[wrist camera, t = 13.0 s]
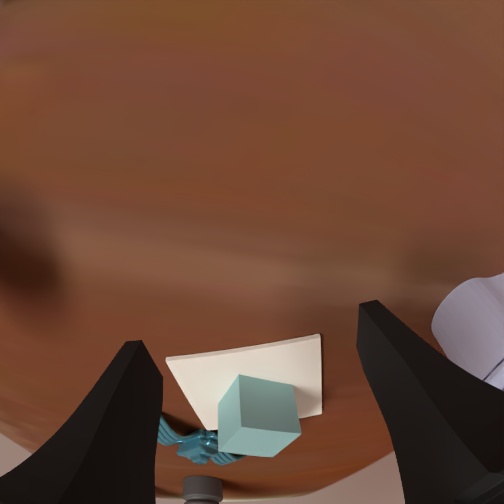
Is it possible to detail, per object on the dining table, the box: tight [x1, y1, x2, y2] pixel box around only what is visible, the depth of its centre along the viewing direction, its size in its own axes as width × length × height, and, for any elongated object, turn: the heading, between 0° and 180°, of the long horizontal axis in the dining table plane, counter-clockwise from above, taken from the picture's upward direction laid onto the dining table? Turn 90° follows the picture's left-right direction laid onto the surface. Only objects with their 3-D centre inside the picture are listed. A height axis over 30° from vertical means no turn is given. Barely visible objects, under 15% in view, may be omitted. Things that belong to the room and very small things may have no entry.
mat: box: [166, 334, 322, 430], centre depth 26 cm, size 12×12×1 cm
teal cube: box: [218, 374, 302, 457], centre depth 24 cm, size 5×5×5 cm
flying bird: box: [157, 415, 246, 465], centre depth 30 cm, size 15×7×4 cm, turn 41°
